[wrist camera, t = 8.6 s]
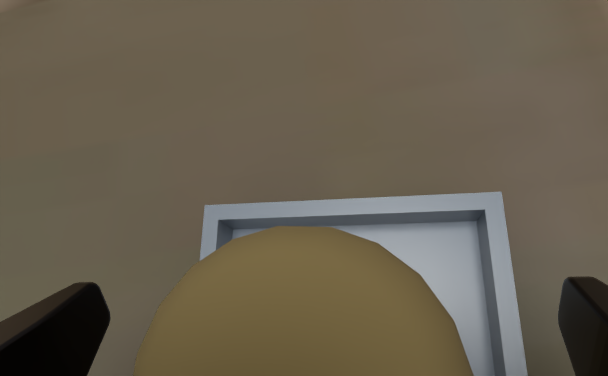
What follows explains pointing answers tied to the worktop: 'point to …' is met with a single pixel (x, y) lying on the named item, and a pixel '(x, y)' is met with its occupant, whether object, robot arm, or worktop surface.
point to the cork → (302, 313)
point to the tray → (417, 256)
